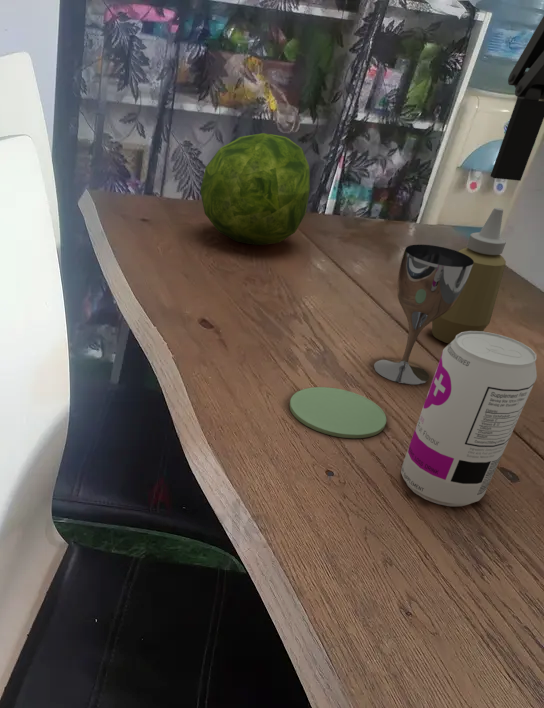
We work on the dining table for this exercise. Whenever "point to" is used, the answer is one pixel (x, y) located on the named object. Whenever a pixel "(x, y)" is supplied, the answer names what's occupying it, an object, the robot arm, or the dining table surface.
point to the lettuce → (257, 189)
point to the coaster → (337, 412)
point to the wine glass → (425, 300)
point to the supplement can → (468, 417)
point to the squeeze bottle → (476, 283)
